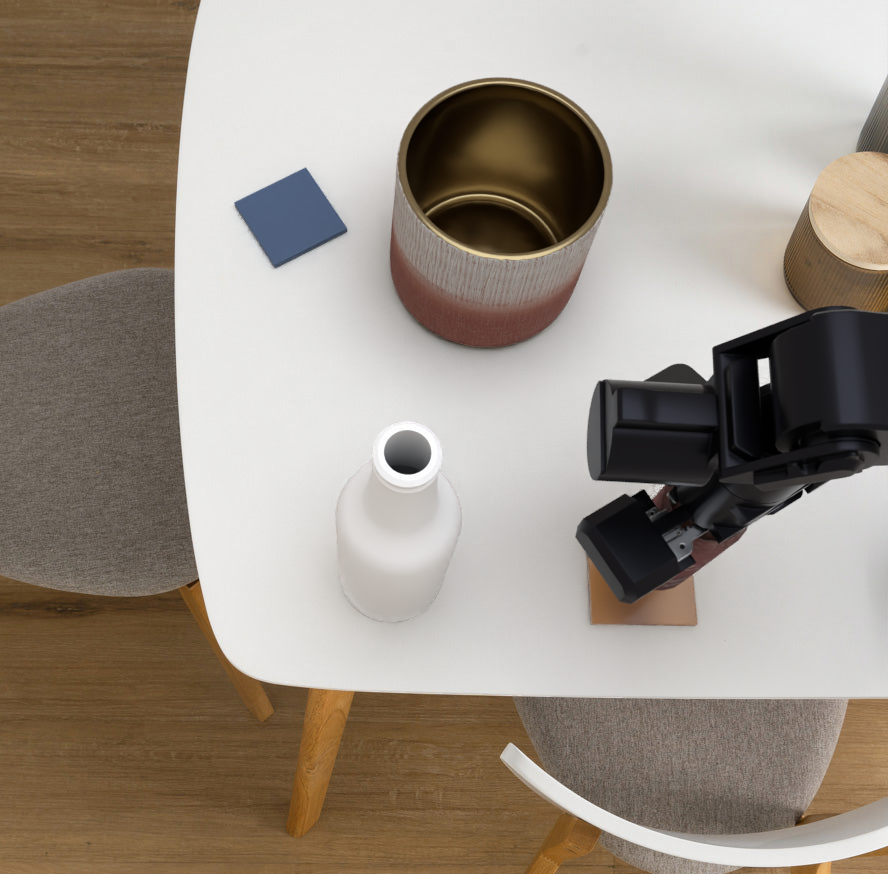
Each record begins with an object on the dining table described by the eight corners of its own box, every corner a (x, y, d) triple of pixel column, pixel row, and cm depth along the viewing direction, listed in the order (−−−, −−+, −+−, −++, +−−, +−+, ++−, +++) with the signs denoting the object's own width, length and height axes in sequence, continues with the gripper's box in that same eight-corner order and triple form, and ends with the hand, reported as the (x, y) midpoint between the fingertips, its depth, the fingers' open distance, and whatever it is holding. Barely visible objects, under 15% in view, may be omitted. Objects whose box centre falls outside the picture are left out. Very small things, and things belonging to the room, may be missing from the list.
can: (691, 520, 79) (755, 461, 66) (691, 595, 77) (756, 550, 64) (617, 512, 79) (666, 452, 66) (615, 587, 77) (665, 541, 64)
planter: (561, 185, 96) (599, 70, 80) (585, 348, 90) (631, 256, 75) (382, 193, 95) (387, 78, 80) (396, 358, 89) (403, 268, 74)
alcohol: (334, 530, 84) (321, 389, 56) (433, 518, 85) (472, 373, 56) (346, 630, 82) (339, 535, 53) (448, 617, 82) (496, 517, 54)
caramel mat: (688, 546, 85) (690, 545, 84) (695, 626, 83) (697, 624, 82) (586, 545, 84) (587, 543, 84) (590, 625, 82) (592, 623, 82)
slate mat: (306, 170, 95) (305, 166, 95) (347, 231, 93) (347, 228, 93) (234, 205, 94) (233, 202, 93) (275, 268, 92) (274, 265, 91)
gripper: (797, 282, 61) (712, 385, 76) (551, 423, 57) (513, 501, 72) (912, 424, 58) (801, 502, 73) (660, 580, 55) (598, 628, 70)
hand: (677, 529), depth 72 cm, fingers closed on can, 5 cm apart
